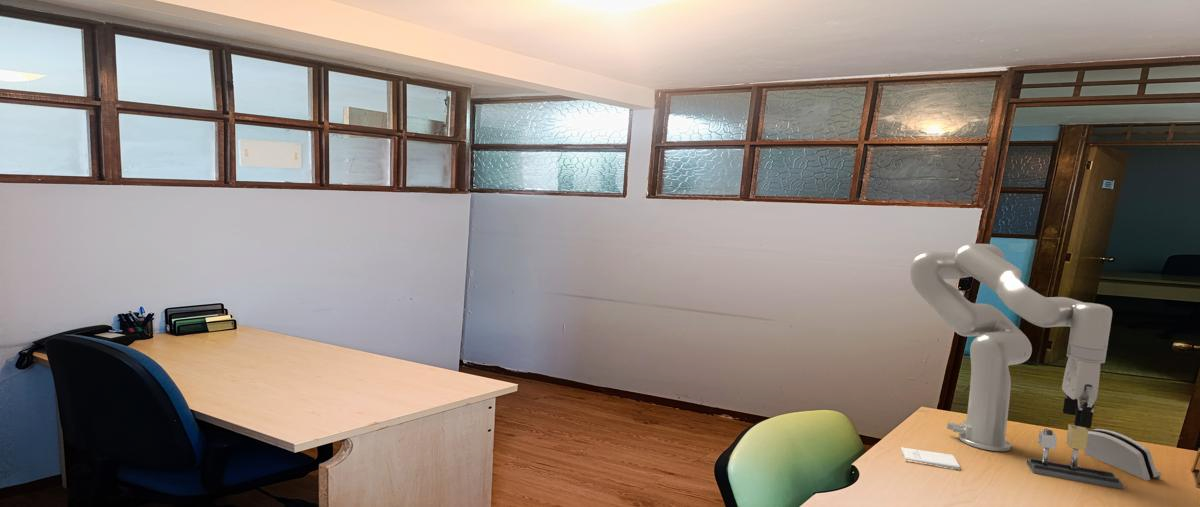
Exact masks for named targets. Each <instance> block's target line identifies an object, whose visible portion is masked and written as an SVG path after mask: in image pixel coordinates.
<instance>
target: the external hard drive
mask: <svg viewBox="0 0 1200 507" xmlns="http://www.w3.org/2000/svg"><path fill="white" fill-rule="evenodd" d="M900 448H901V450H902V453H903V455H904V458H905V459H906V460H912V461H917V462H922V463H927V464H932V465H938V466H942V467H947V468H946V469H948V468H953V469H952V470H954V469H958V470H957V471H960V470H961V466H960V464H959V462H958V461H957V459H956V458H955V456H954V455H953V454H950V453H949V454H947V453H942V452H934V451H929V450H928V451H927V450H922V449H915V448H909V447H908V448H907V447H902V446H900ZM902 453H901V454H902ZM903 455H902V456H903ZM904 458H903V459H904ZM942 467H941V468H942Z"/></svg>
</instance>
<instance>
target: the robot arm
mask: <svg viewBox="0 0 1200 507" xmlns="http://www.w3.org/2000/svg"><path fill="white" fill-rule="evenodd" d="M909 274H910V281H911V284H912V285H913V287H914V289H915V290H916V292H917V293H918V294H919V295H920V296H921V297H922V298H923V300H925V302H927V303H928V304H929V305H930V306H931V307H932V308H933V309H934V311H935V312H936V313H937V314H938V315H939V317H941V319H942V320H944V321H945V323H946V324H947V325H948V326H949V327H950V329H951V330H953V331H954V332H955V333H956V334H957V335H959V336H962V337H975V338H973V340H972V341H971V344H970V347H969V355H970V366H971V367H970V368H971V369H970V384H969V396H968V405H967V414H966V415H967V416H966V420H964V421H963V423H962V422H961V423H958V424H957V423H954V422H949V421H948V422H947V423H946V430H949V431H950V430H952V432H954V433H958V439H959V440H960V441H961V442H962V443H964V444H967V445H969V446H972V447H975V448H977V449H982V450H987V451H993V452H1008V451H1010V450H1012V444H1011V442H1010V441H1008V440H1007V439H1006V436H1007V426H1008V416H1009V407H1010V398H1011V387H1012V381H1011V380H1012V379H1011V374H1010V369H1009V366H1013V365H1020V364H1023V363H1025V362H1027V361H1028V360H1029V359H1030V357H1031V355H1032V352H1033V347H1032V343H1031V342H1030V340H1029V338H1028V336H1026V334H1025V333H1023V331H1022V330H1021V329H1019V328H1018V327H1017V325H1016V324H1014V323H1013V321H1011V320H1010V319H1009V318H1008V317H1007V316H1006V315H1005V314H1004V313H1003V312H1002V311H1001V310H1000V309H998V308H997V307H995V306H994V305H991V304H988V303H982V302H981V303H979V302H978V303H977V302H976V303H974V302H971V300H968V299H967V298H966V297H965V296H964V295H963V294H962V293H961V292H960V291H959V290H958V289H957V288H956V287H954V286H953V285H951V284H950V283H949V282H947V281H945V280H956V279H957V280H958V279H964V278H965V279H966V278H970V277H972V278H974V279H975V280H977V281H978V282H979V283H982V284H983V285H984V286H986V287H987V288H989V289H990V290H992V291H993V292H995V293H996V294H997V296H998V298H999V299H1000V300H1001V301H1002V302H1003V304H1004V305H1005V306H1006V307H1007V308H1008V309H1009V310H1011V311H1012V312H1013V313H1014V314H1016V315H1018V316H1019V317H1021V318H1022V319H1024V320H1025V321H1027V322H1028V323H1031V324H1032V325H1035V326H1038V327H1041V328H1054V327H1055V328H1056V327H1059V328H1060V327H1061V328H1062V327H1069V328H1070V329H1069V330H1070V331H1069V336H1068V343H1067V350H1066V351H1067V352H1066V357H1067V362H1066V366H1065V369H1064V374H1063V380H1062V385H1061V390H1062V391H1063V392H1064V401H1063V406H1062V407H1063V408H1062V412H1063V414H1066V415H1070V416H1074V423H1073V425H1076V426H1080V427H1085V428H1086V429H1091V428H1092V422H1093V416H1094V412H1095V411H1094V410H1095V402H1097V399H1098V394H1099V393H1098V392H1099V386H1100V379H1101V378H1100V376H1101V364H1105V363H1106V358H1107V351H1108V346H1109V339H1110V337H1109V336H1110V333H1111V326H1112V325H1111V324H1112V319H1113V310H1112V308H1111V307H1110V306H1107V305H1105V304H1101V303H1094V302H1083V301H1081V300H1078V299H1074V298H1070V297H1065V296H1053V297H1052V296H1050V297H1047V296H1045V295H1042V294H1040V293H1038V292H1037V291H1035V290H1034V289H1032V288H1031V287H1029V286H1028V285H1026V284H1025V283H1024V282H1023V281H1022V280H1021V278H1022V270H1021V269H1020V268H1019V267H1017V266H1016V265H1014V264H1012V263H1011V262H1009V261H1008V260H1006V258H1005V254H1004V252H1003V251H1002V250H1001V249H1000V248H999V246H998V247H997V246H996V245H993V244H990V243H967V244H963V245H962V246H960V247H959V248H958V249H957V250H956V251H925V252H922V253H920V254H919V255H916V256H915V257H914V259H913V260H912V262H911V264H910V269H909Z"/></svg>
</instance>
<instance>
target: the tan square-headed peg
mask: <svg viewBox="0 0 1200 507" xmlns="http://www.w3.org/2000/svg"><path fill="white" fill-rule="evenodd" d="M1067 427H1068V428H1067V434H1066V435H1067V436H1066V441H1065V443H1066V445H1067V446H1068V447H1069V448H1071V449H1072V451H1071V452H1072V453H1071V460H1070V465H1071V468H1072V469H1076V468H1077V466H1078V459H1079V451H1080V450H1082V451H1084V450H1086V445H1087V437H1088V431H1089V430H1088V428H1085V427H1080V426H1076V425H1075V424H1072V423H1071V424H1070V423H1068V426H1067Z"/></svg>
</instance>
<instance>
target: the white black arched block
mask: <svg viewBox="0 0 1200 507" xmlns="http://www.w3.org/2000/svg"><path fill="white" fill-rule="evenodd" d="M1083 451H1084V452H1083V454H1084V455H1087V456H1088V457H1090V458H1093V459H1095V460H1098V461H1099V460H1100V462H1102V463H1104V464H1106V463H1107V465H1109V466H1111V465H1112V466H1111V467H1113V466H1114V468H1116V467H1117V468H1116V469H1118V468H1119V469H1118V470H1120V469H1121V471H1123V470H1124V471H1123V472H1125V471H1126V473H1127V472H1128V474H1131V475H1132V474H1133V475H1132V476H1134V475H1135V476H1134V477H1137V476H1138V477H1137V478H1139V477H1140V478H1139V479H1141V478H1142V479H1141V480H1144V479H1145V480H1144V481H1151V478H1155V477H1156V478H1155V479H1157V478H1159V479H1158V480H1160V479H1161V480H1162V475H1161V472H1159V471H1157V470H1156V465H1155V463H1154V460H1153V456H1152V454H1151V451H1150V449H1149V448H1147V447H1146V446H1144V445H1142V444H1141V443H1140V442H1138V441H1136V440H1134V439H1132V438H1131V437H1129V436H1127V435H1125V434H1122V433H1119V432H1116V431H1112V430H1108V429H1101V428H1094V429H1090V430H1088V437H1087V445H1086V450H1083Z"/></svg>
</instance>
